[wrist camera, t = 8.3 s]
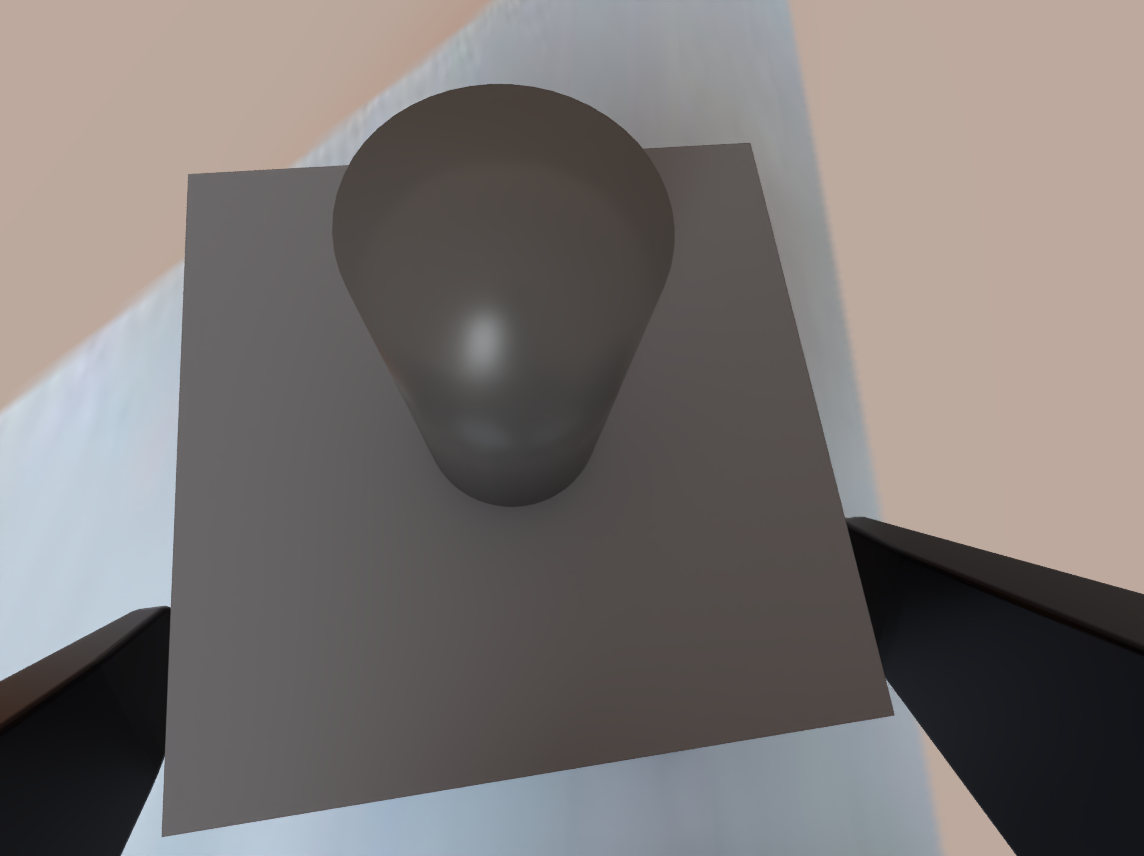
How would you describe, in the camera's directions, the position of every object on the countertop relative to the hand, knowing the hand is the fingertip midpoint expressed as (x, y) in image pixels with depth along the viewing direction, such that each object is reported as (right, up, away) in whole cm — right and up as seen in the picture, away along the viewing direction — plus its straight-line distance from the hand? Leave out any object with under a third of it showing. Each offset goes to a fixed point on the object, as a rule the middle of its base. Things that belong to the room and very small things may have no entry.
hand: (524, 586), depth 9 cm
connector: (-1, -2, +9) cm, 9 cm away
